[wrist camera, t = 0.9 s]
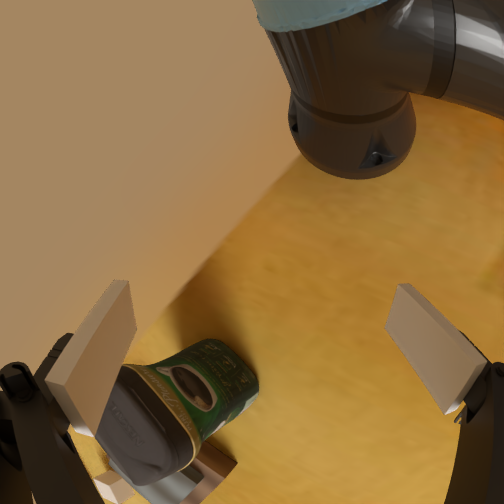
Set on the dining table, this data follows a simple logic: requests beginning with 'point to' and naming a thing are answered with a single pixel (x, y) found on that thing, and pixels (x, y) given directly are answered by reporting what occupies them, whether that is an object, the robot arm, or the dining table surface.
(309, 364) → the dining table surface
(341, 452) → the dining table surface
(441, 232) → the dining table surface
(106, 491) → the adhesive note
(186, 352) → the coffee jar
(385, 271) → the dining table surface
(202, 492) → the tower stand
